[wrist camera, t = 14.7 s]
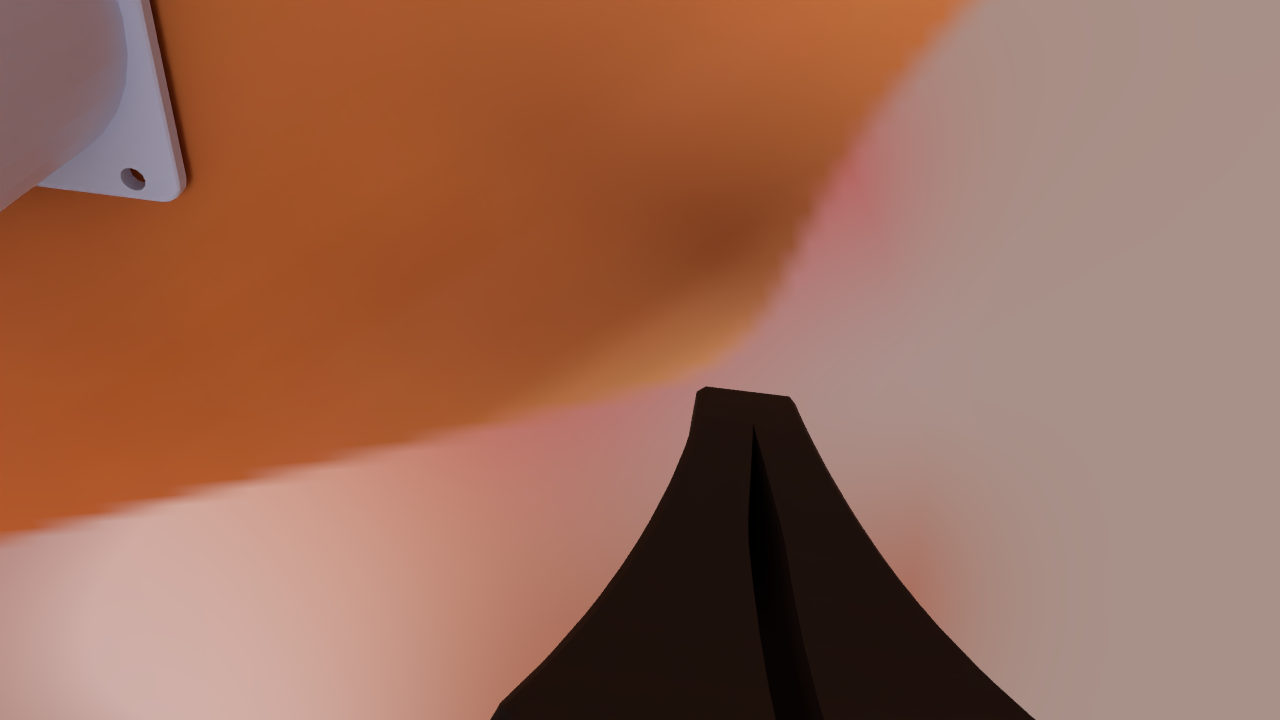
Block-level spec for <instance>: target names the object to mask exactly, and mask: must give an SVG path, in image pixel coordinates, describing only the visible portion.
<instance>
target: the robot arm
mask: <svg viewBox="0 0 1280 720" xmlns="http://www.w3.org/2000/svg"><path fill="white" fill-rule="evenodd" d="M130 168H132V169H135V170H137V171H138V172H139V173H141V174H142V175H143V177H144V179H145V182H142V181H139V180H138V179H136V178H135V177H134V176H133V175H132V173H131V171H130ZM34 186H40V187H48V188H55V189H63V190H71V191H79V192H87V193H95V194H103V195H111V196H119V197H127V198H135V199H142V200H150V201H158V202H170V201H172V200H174V199H176V198H177V197H178V196H179V195H180V194H181V193H182V192H183V191H184V189H185V187H186V174H185V169H184V164H183V159H182V155H181V150H180V145H179V140H178V135H177V131H176V126H175V121H174V116H173V111H172V107H171V102H170V97H169V92H168V88H167V83H166V78H165V73H164V68H163V64H162V59H161V54H160V49H159V44H158V40H157V35H156V30H155V25H154V20H153V16H152V11H151V6H150V1H149V0H0V212H1V211H2V210H3V209H5V208H6V207H7V206H9V205H10V204H11V203H13V202H14V201H16V200H17V199H18V198H20V197H21V196H22V195H24V194H25V193H26V192H28V191H29V190H30V189H32V188H33V187H34ZM491 720H1035V719H1034V718H1033V717H1031V716H1030V715H1029V714H1028V713H1027V712H1026V711H1025V710H1024V709H1023V708H1021V707H1020V706H1019V705H1018V704H1017V703H1016V702H1015V701H1014V700H1013V699H1011V698H1010V697H1009V696H1008V695H1007V694H1006V693H1005V692H1004V691H1003V690H1001V689H1000V688H999V687H998V686H997V685H996V684H995V683H994V682H993V681H992V680H991V679H990V678H989V677H988V676H987V675H985V674H984V673H983V672H982V671H981V670H980V669H979V668H978V667H977V666H976V665H975V664H974V663H973V662H972V661H971V659H969V657H967V655H966V654H965V653H964V652H963V651H962V650H961V649H960V648H959V647H958V646H957V645H956V644H955V643H954V642H953V641H952V640H951V639H950V638H949V637H948V636H947V635H946V634H945V633H944V632H943V631H942V629H941V628H939V626H938V625H937V624H936V623H935V622H934V621H933V620H932V618H931V617H930V616H929V615H928V614H927V612H926V611H925V610H924V609H923V608H922V607H921V606H920V605H919V603H918V602H917V601H916V599H915V598H914V597H913V596H912V595H911V593H910V592H909V591H908V590H907V588H906V587H905V586H904V585H903V583H902V582H901V581H900V580H899V578H898V577H897V576H896V574H895V573H894V572H893V570H892V569H891V568H890V566H889V565H888V563H887V562H886V561H885V559H884V558H883V557H882V555H881V554H880V553H879V551H878V550H877V548H876V547H875V545H874V544H873V542H872V541H871V539H870V538H869V536H868V535H867V533H866V532H865V530H864V529H863V527H862V526H861V524H860V523H859V521H858V520H857V518H856V517H855V515H854V514H853V512H852V510H851V509H850V507H849V505H848V504H847V502H846V500H845V499H844V497H843V495H842V493H841V492H840V490H839V489H838V487H837V485H836V483H835V482H834V480H833V478H832V477H831V475H830V473H829V471H828V469H827V468H826V466H825V464H824V462H823V461H822V458H821V456H820V455H819V453H818V451H817V449H816V447H815V445H814V443H813V441H812V439H811V437H810V435H809V433H808V431H807V429H806V427H805V425H804V423H803V421H802V418H801V416H800V414H799V412H798V410H797V407H796V405H795V403H794V402H793V401H792V400H791V398H790V397H788V396H780V395H772V394H763V393H755V392H746V391H739V390H730V389H722V388H714V387H704V388H702V389H701V390H699V391H697V393H696V399H695V405H694V410H693V415H692V421H691V427H690V432H689V437H688V440H687V443H686V446H685V449H684V451H683V454H682V456H681V458H680V460H679V463H678V465H677V468H676V470H675V472H674V475H673V477H672V479H671V481H670V483H669V485H668V487H667V489H666V491H665V493H664V495H663V497H662V499H661V501H660V503H659V505H658V507H657V509H656V510H655V512H654V514H653V516H652V518H651V520H650V521H649V523H648V525H647V526H646V528H645V530H644V532H643V533H642V535H641V537H640V538H639V540H638V542H637V543H636V545H635V546H634V548H633V549H632V551H631V552H630V554H629V555H628V557H627V559H626V560H625V561H624V563H623V565H622V566H621V567H620V569H619V570H618V572H617V573H616V574H615V576H614V577H613V578H612V580H611V581H610V582H609V584H608V585H607V587H606V588H605V589H604V591H603V592H602V594H601V595H600V596H599V597H598V599H597V600H596V601H595V603H594V604H593V605H592V606H591V608H590V609H589V610H588V611H587V613H586V614H585V615H584V616H583V617H582V618H581V620H580V621H579V622H578V623H577V624H576V625H575V626H574V628H573V629H572V630H571V631H570V632H569V633H568V635H567V636H566V637H565V638H564V639H563V640H562V641H561V643H559V645H558V646H557V647H556V648H555V649H554V650H553V651H552V653H551V654H550V655H549V656H548V657H547V658H546V659H545V660H544V661H543V662H542V663H541V664H540V665H539V666H538V667H537V668H536V669H535V670H534V671H533V672H532V673H531V674H530V675H529V676H528V677H527V678H526V679H525V680H524V681H522V682H521V683H520V685H518V686H517V687H516V688H515V689H514V690H513V691H512V692H511V693H510V694H509V695H508V696H507V697H506V698H505V699H504V700H503V701H502V702H501V703H500V704H499V706H498V708H497V710H496V711H495V713H494V715H493V716H492V718H491Z"/></svg>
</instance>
